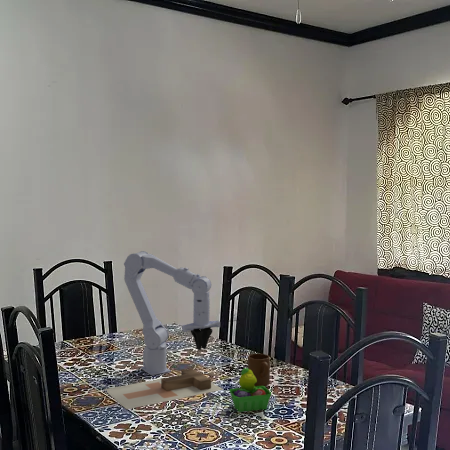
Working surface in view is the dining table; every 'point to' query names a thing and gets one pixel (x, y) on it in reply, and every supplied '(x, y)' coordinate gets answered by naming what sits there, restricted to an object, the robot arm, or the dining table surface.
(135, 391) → the mat
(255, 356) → the mug
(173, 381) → the t block
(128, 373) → the dining table surface
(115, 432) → the dining table surface
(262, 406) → the fruit basket
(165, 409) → the dining table surface
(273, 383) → the dining table surface
